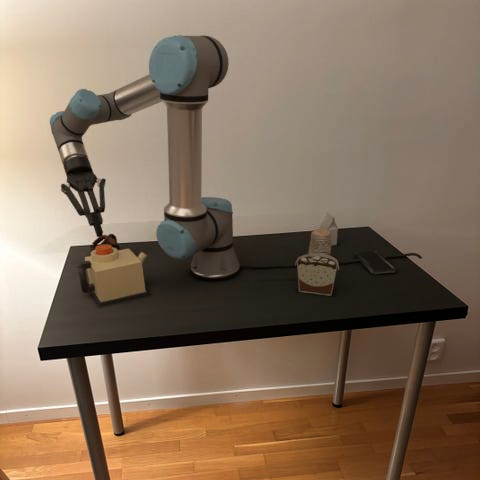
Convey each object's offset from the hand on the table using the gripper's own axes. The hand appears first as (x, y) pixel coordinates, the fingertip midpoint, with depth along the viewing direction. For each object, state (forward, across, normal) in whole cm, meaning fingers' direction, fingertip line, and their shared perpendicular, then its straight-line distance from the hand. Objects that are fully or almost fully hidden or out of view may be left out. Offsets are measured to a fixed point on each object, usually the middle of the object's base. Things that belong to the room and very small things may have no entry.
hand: (100, 234), depth 139 cm
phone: (+31, -79, +7) cm, 85 cm away
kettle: (+15, -2, -9) cm, 17 cm away
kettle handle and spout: (+15, -2, -9) cm, 17 cm away
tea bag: (+14, -79, -10) cm, 80 cm away
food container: (+35, -53, +11) cm, 64 cm away
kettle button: (+5, 0, -2) cm, 5 cm away
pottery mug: (-6, -7, -30) cm, 31 cm away
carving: (+26, -62, +2) cm, 68 cm away
